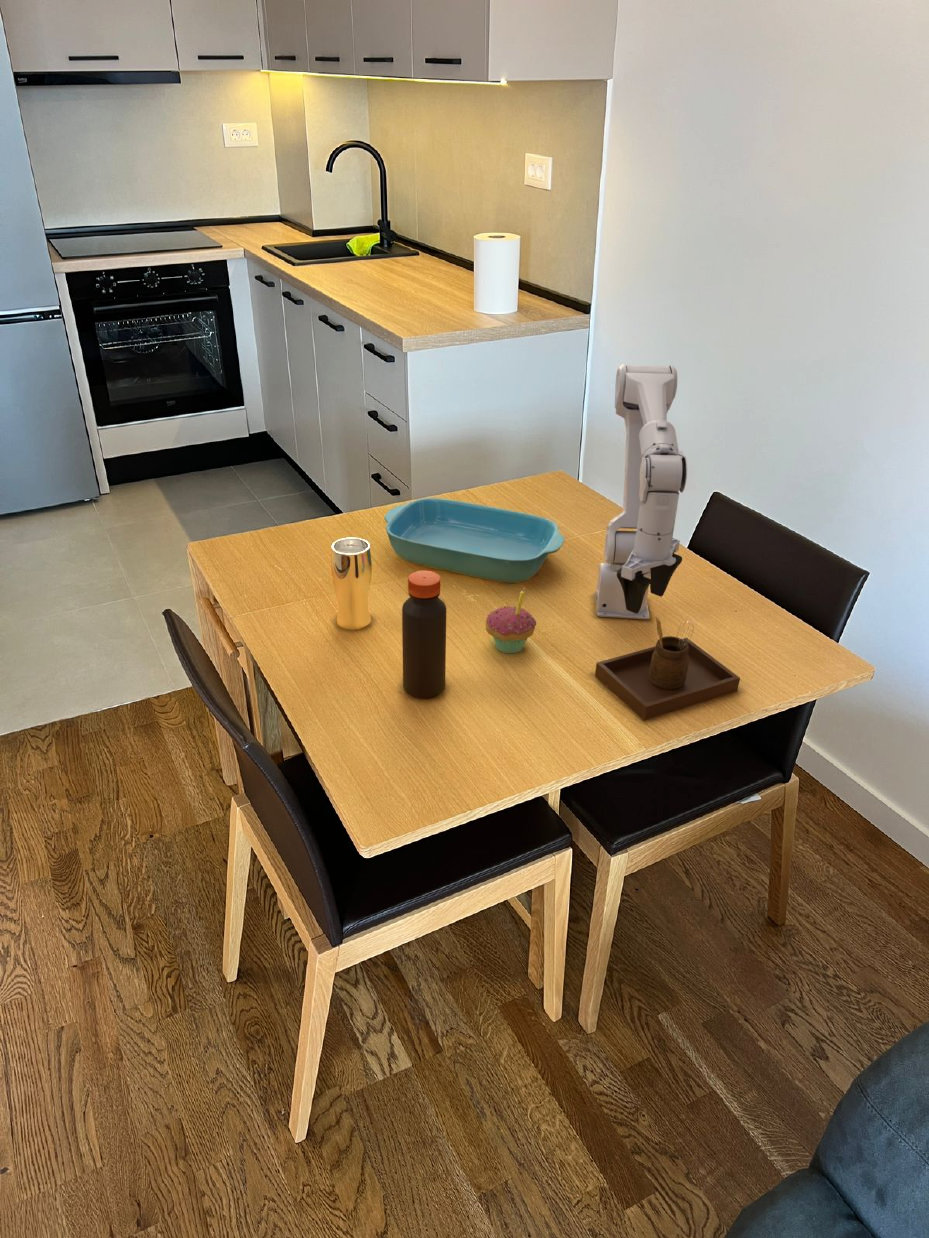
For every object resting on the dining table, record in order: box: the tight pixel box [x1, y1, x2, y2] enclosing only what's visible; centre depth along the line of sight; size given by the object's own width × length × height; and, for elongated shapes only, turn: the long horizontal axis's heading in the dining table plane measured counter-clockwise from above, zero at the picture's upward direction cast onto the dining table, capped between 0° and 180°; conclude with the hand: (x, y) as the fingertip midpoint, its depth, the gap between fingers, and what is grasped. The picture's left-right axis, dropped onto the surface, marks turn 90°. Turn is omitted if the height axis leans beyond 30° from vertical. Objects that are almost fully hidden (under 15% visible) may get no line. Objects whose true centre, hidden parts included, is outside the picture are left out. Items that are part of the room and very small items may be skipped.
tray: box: [594, 637, 741, 721], centre depth 153 cm, size 19×14×3 cm
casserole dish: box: [384, 497, 565, 584], centre depth 189 cm, size 37×22×7 cm, turn 70°
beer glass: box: [330, 537, 373, 631], centre depth 164 cm, size 7×7×15 cm
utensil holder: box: [649, 616, 695, 690], centre depth 150 cm, size 6×6×12 cm
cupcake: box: [485, 587, 537, 654], centre depth 159 cm, size 9×8×12 cm
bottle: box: [401, 570, 447, 700], centre depth 146 cm, size 7×7×20 cm
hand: (644, 602), depth 155 cm, fingers open, 7 cm apart
